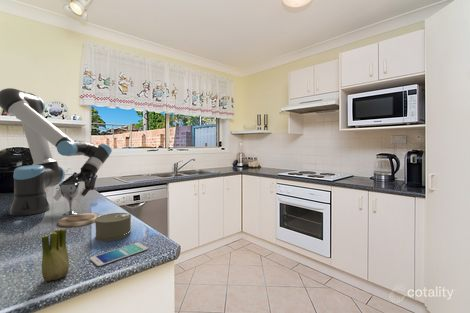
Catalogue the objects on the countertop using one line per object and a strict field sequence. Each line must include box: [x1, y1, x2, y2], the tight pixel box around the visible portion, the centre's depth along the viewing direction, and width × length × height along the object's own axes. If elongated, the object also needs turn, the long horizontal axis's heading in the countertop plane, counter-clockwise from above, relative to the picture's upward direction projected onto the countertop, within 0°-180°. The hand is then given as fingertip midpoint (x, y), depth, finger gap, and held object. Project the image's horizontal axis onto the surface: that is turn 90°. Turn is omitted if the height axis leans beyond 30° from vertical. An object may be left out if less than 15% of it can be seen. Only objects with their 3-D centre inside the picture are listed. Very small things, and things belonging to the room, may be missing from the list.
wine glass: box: [59, 182, 81, 216], centre depth 116 cm, size 8×8×15 cm
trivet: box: [57, 212, 99, 228], centre depth 104 cm, size 16×16×1 cm
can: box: [94, 212, 132, 242], centre depth 87 cm, size 12×12×7 cm
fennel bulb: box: [41, 228, 70, 282], centre depth 58 cm, size 6×5×12 cm
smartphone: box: [89, 242, 149, 268], centre depth 71 cm, size 7×1×15 cm
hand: (66, 200), depth 113 cm, fingers open, 13 cm apart
